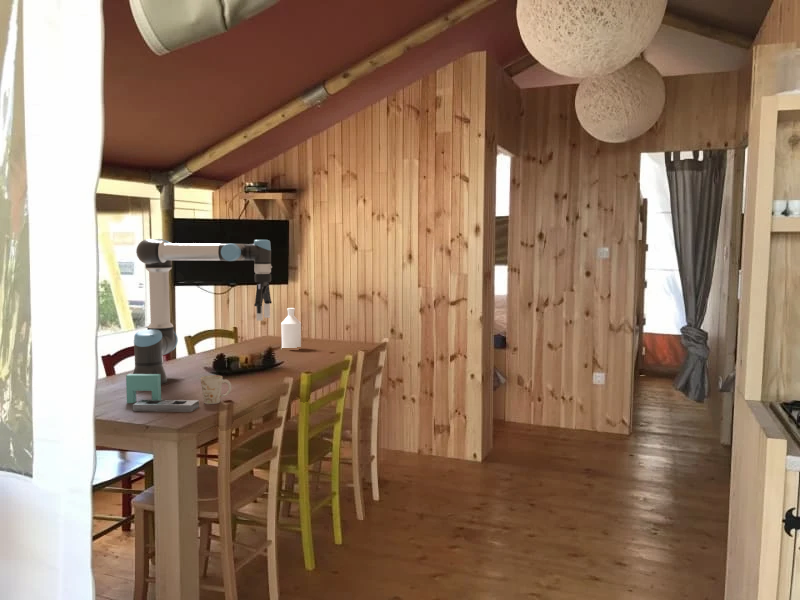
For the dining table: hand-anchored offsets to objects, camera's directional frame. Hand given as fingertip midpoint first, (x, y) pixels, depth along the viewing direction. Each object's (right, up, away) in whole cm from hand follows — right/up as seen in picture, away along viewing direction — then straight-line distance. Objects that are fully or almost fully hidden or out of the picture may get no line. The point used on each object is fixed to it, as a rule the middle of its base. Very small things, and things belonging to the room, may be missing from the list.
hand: (263, 319), depth 301 cm
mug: (-9, -32, -44) cm, 55 cm away
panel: (-37, -31, -46) cm, 67 cm away
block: (-25, -32, -57) cm, 70 cm away
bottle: (-2, -21, +91) cm, 93 cm away
